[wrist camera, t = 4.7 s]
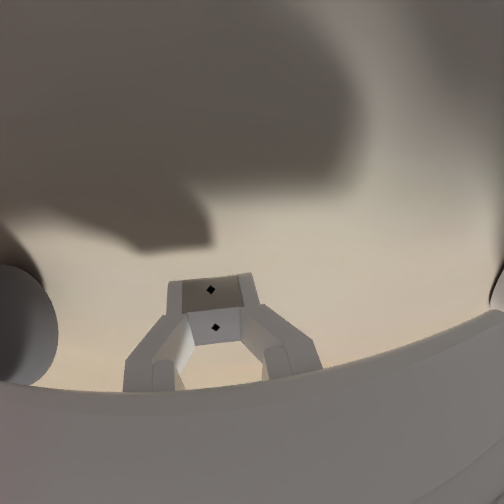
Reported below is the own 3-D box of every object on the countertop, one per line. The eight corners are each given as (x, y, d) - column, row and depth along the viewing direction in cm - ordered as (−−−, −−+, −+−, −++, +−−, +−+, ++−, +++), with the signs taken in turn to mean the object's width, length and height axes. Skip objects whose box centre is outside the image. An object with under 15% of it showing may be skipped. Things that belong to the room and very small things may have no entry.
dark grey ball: (33, 225, 9) (-29, 326, 5) (89, 314, 13) (69, 413, 8) (-30, 254, 9) (-77, 334, 5) (23, 326, 12) (-2, 405, 8)
